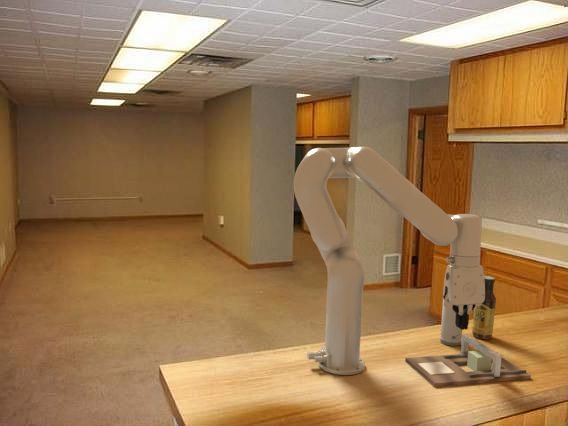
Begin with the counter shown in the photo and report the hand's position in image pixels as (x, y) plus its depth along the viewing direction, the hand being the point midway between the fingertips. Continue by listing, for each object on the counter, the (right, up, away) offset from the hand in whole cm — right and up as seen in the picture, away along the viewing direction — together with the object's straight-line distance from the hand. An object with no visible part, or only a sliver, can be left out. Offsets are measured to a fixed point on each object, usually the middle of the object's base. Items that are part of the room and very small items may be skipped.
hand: (461, 327), depth 137 cm
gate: (+6, -11, +3) cm, 13 cm away
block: (+6, -12, +3) cm, 14 cm away
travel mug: (+4, -10, +22) cm, 25 cm away
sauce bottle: (+16, -9, +28) cm, 34 cm away
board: (+2, -12, +2) cm, 12 cm away
